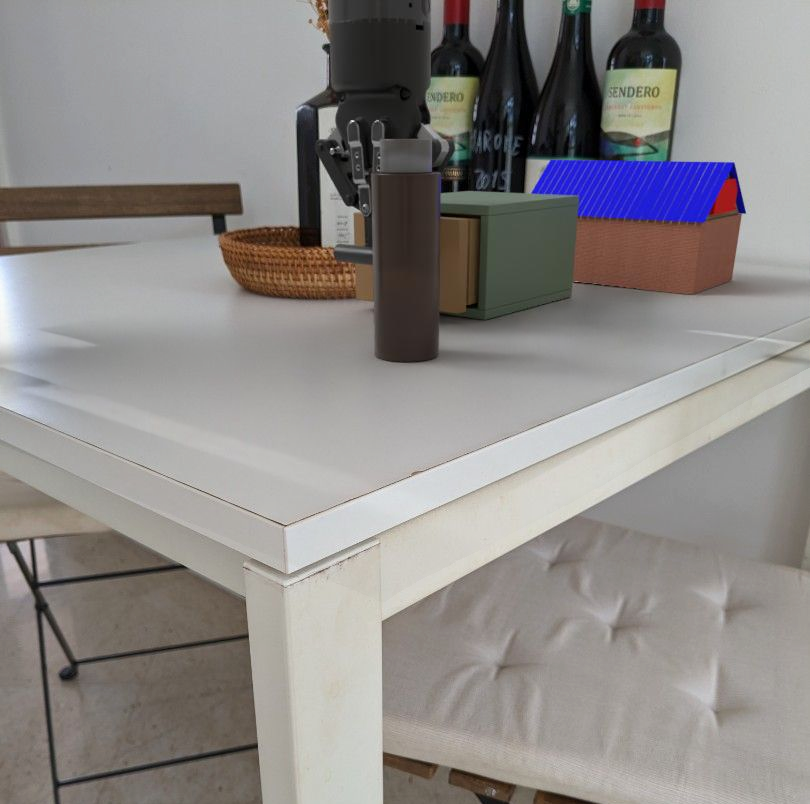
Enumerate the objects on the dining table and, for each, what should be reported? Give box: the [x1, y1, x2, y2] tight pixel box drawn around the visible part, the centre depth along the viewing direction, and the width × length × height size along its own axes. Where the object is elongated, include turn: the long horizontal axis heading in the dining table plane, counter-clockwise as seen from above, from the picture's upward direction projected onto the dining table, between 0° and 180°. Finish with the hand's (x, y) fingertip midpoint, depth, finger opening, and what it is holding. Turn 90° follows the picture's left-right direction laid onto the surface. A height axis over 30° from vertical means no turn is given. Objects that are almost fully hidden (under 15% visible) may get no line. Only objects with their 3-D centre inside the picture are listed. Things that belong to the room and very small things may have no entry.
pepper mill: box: [370, 139, 442, 363], centre depth 58 cm, size 5×5×14 cm
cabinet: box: [439, 190, 579, 321], centre depth 79 cm, size 15×13×9 cm
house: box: [530, 159, 747, 295], centre depth 90 cm, size 12×20×12 cm, turn 52°
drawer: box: [332, 211, 482, 314], centre depth 75 cm, size 18×11×7 cm, turn 140°
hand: (384, 264), depth 70 cm, fingers closed
